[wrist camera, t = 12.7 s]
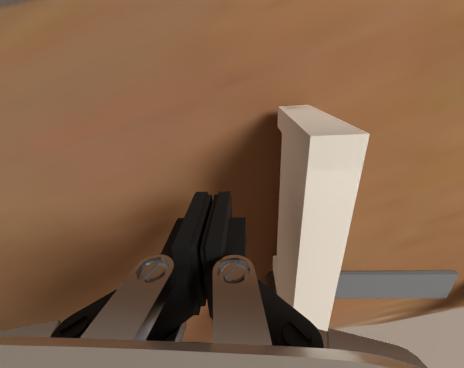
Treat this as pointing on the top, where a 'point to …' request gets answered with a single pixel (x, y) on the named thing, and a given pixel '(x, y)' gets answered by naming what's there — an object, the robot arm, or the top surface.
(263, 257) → the top surface
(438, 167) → the top surface
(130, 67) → the top surface
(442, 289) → the strip
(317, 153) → the gate
